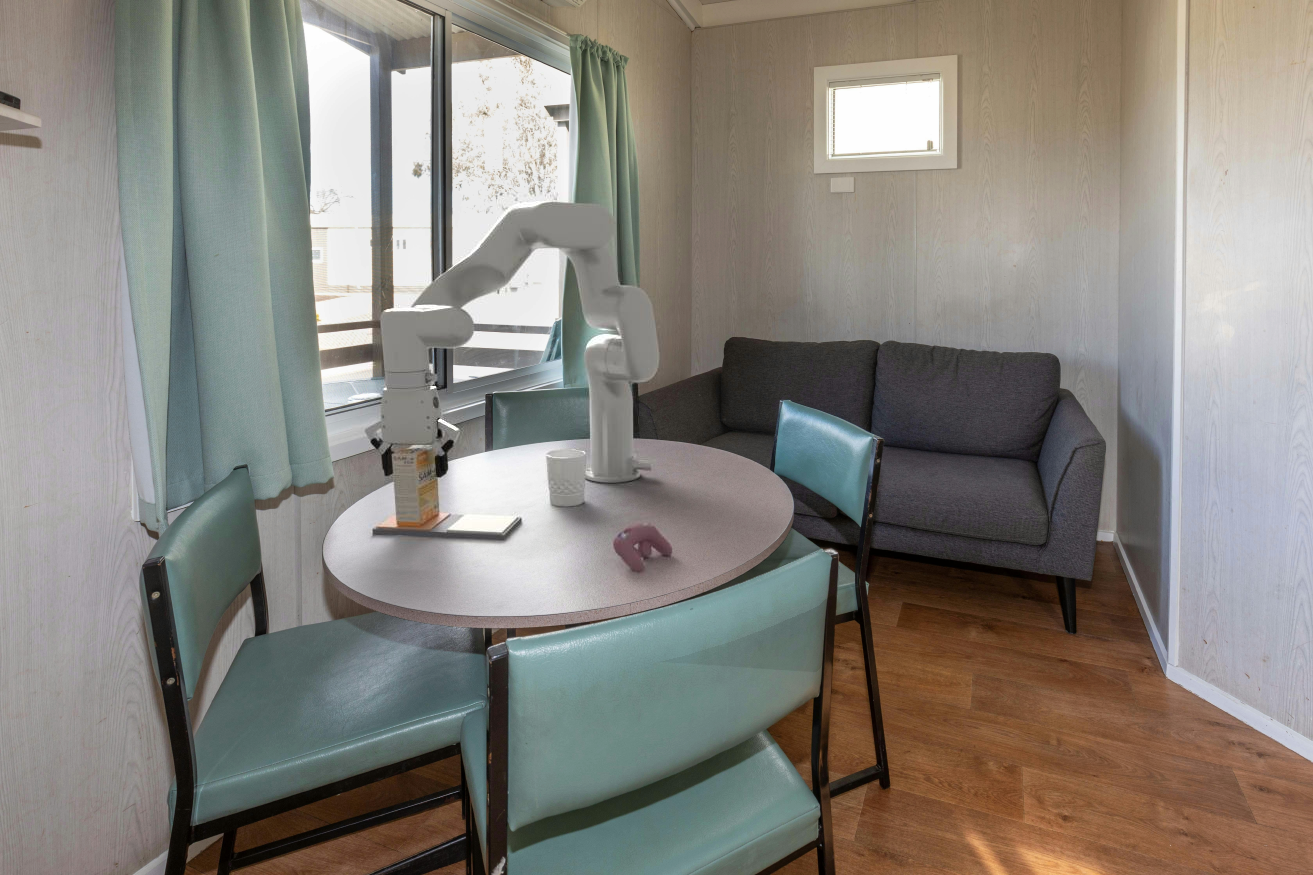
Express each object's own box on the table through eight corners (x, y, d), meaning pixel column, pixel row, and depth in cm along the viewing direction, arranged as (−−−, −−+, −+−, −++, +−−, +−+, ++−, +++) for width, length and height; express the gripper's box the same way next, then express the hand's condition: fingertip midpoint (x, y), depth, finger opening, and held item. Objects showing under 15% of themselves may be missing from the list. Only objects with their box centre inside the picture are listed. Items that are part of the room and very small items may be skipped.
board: (521, 522, 147) (521, 515, 147) (504, 540, 137) (503, 533, 137) (398, 516, 150) (398, 510, 150) (372, 534, 141) (372, 527, 140)
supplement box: (421, 527, 140) (416, 454, 137) (395, 526, 141) (390, 453, 138) (441, 513, 148) (437, 444, 145) (416, 512, 149) (412, 443, 146)
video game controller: (655, 560, 133) (639, 520, 133) (676, 552, 130) (660, 513, 130) (620, 579, 125) (604, 537, 125) (642, 571, 122) (625, 529, 122)
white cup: (593, 498, 162) (592, 450, 160) (576, 509, 155) (575, 459, 153) (558, 495, 165) (556, 447, 163) (540, 505, 158) (538, 456, 156)
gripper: (463, 377, 142) (469, 470, 145) (371, 376, 144) (380, 468, 148) (447, 384, 134) (453, 482, 138) (350, 383, 137) (360, 479, 141)
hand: (415, 474), depth 143 cm, fingers open, 9 cm apart
